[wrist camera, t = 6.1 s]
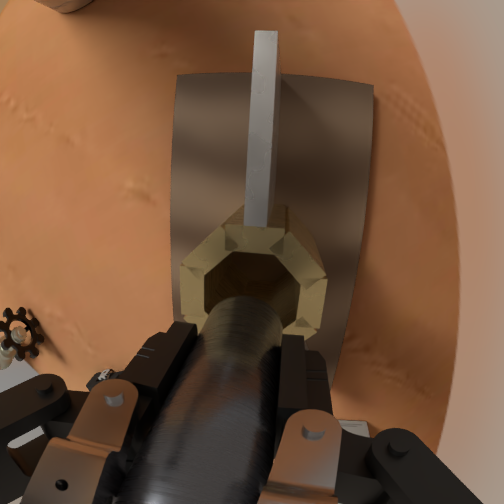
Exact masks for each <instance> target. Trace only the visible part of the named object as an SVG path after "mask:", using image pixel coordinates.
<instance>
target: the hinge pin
mask: <svg viewBox="0 0 504 504" xmlns="http://www.w3.org/2000/svg"><path fill="white" fill-rule="evenodd" d="M282 334H283V327H282V323H281V320H280V317H279V316H278V314H277V312H276V311H275V310H274V309H273V308H272V307H271V306H270V305H269V304H267V303H266V302H264V301H262V300H260V299H258V298H255V297H251V296H233V297H229V298H226V299H224V300H222V301H221V302H219V303H218V304H217V305H216V306H215V307H214V308H213V309H212V310H211V312H210V314H209V316H208V318H207V320H206V322H205V323H204V325H203V327H202V329H201V331H200V333H199V335H198V337H197V339H196V341H195V343H194V344H193V346H192V348H191V350H190V352H189V354H188V356H187V358H186V360H185V362H184V364H183V366H182V367H181V369H180V371H179V373H178V375H177V377H176V379H175V381H174V383H173V385H172V387H171V389H170V391H169V392H168V394H167V396H166V398H165V400H164V402H163V404H162V406H161V408H160V410H159V412H158V414H157V416H156V418H155V420H154V422H153V424H152V425H151V427H150V429H149V431H148V433H147V435H146V437H145V439H144V441H143V443H142V445H141V447H140V449H139V451H138V453H137V455H136V457H135V459H134V461H133V463H132V465H131V467H130V469H129V471H128V473H127V475H126V477H125V479H124V481H123V483H122V485H121V487H120V489H119V492H118V494H117V497H116V498H115V499H114V500H113V502H112V504H257V503H258V500H259V497H260V495H261V492H262V490H263V487H264V485H265V484H266V483H267V480H268V478H269V475H270V472H271V469H272V466H273V459H274V448H275V436H276V431H275V418H276V406H277V393H278V380H279V366H280V351H281V341H282Z"/></svg>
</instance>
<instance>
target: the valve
mask: <svg viewBox="0 0 504 504" xmlns="http://www.w3.org/2000/svg"><path fill="white" fill-rule="evenodd" d="M16 313H18V315H14V314H13V312H12V310H11V309H10V308H6V309H5V310H4V312H3V317H6V318H7V321H6V323H4V322H3V321H0V332H4V334H5V335H4V336H2V337H1V338H0V370H3V369H6V368H7V367H9V366H10V364H11V363H12V359H13V358H14V357H15V358H16V359H17V360H18V361H22V360H23V359H24V358H25V352H30V354H31V355H30V357H31V358H33V359H34V358H36V357H37V356H38V355H39V351H38V349H37V348H35V344H36V343H38V345H40V344H42V343H43V342H44V337H43V335H41V334H37V333H36V331H35V328H36V327H37V326H38V325H39V321H38V320H37V319H36V318H32V319H31V320H28V319H27V318H26V316H25V315H26V310H25V308H23V307H20V308H19V309H18V310H17V312H16ZM13 321H21V322H23V323H24V324H25V325H26V327H25V328H23V327H21V326H18V327H15V328H14V329H13V330H12V331H11V330H9V327H10V324H11V322H13ZM29 330H30V333H31V342H30V344H29V345H28V346H25V347H23V346H21V344H22V343H23V342H24V341H25V338H26V337H27V334H26V332H27V331H29Z"/></svg>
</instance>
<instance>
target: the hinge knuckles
mask: <svg viewBox="0 0 504 504" xmlns="http://www.w3.org/2000/svg"><path fill="white" fill-rule="evenodd" d="M280 96H281V65H280V52H279V40H278V31H255V39H254V54H253V69H252V85H251V101H250V117H249V134H248V151H247V169H246V187H245V203H244V204H243V205H242V206H241V207H240V208H239V209H238V210H236V211H235V212H234V213H233V214H232V215H231V216H230V217H229V218H227V219H226V220H225V221H224V222H223V223H222V224H221V225H220V226H219V227H217V228H216V229H215V230H214V231H213V232H212V233H211V234H210V235H209V236H208V237H207V238H206V239H205V240H204V241H202V242H201V243H200V244H199V245H198V246H197V247H196V248H195V249H194V250H193V251H192V252H191V253H190V254H189V255H188V256H187V257H186V258H185V259H184V260H183V261H182V264H181V265H180V295H181V314H183V315H185V316H184V318H183V319H184V320H185V321H186V322H188V323H195V324H196V325H197V329H198V334H199V333H200V331H201V329H202V327H203V325H204V323H205V322H206V320H207V318H208V316H209V314H210V312H211V310H212V309H213V308H214V307H215V306H216V305H217V304H218V303H219V302H221V301H222V300H224V299H226V298H229V297H233V296H251V297H255V298H258V299H260V300H262V301H264V302H266V303H267V304H269V305H270V306H271V307H272V308H273V309H274V310H275V311H276V312H277V314H278V316H279V317H280V320H281V323H282V327H283V334H291V335H304V343H305V350H308V347H307V344H306V342H305V340H306V339H308V338H309V337H311V336H312V335H314V334H315V333H317V329H316V328H318V329H320V323H321V317H322V311H323V305H324V299H325V293H326V287H327V280H328V279H327V276H326V272H325V269H324V266H323V263H322V260H321V258H320V255H319V252H318V249H317V246H316V243H315V240H314V238H313V235H312V234H311V232H310V231H309V230H308V229H307V228H306V226H305V225H304V224H303V223H302V222H301V220H300V219H299V218H298V217H297V216H296V215H295V213H294V212H293V211H292V210H291V209H290V208H289V207H287V208H286V209H285V205H281V204H274V195H275V180H276V165H277V149H278V132H279V114H280ZM232 251H237V252H249V253H261V254H272V255H275V256H276V257H277V258H278V259H279V261H280V262H281V263H282V264H283V265H284V266H285V267H286V269H287V270H288V271H287V272H286V273H285V274H283V275H282V276H281V277H280V278H278V279H277V280H276V281H274V282H270V281H259V280H249V279H248V278H247V277H246V276H245V275H244V274H243V273H242V272H241V271H240V269H239V268H238V267H237V266H236V265H235V264H234V263H233V262H232Z"/></svg>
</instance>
